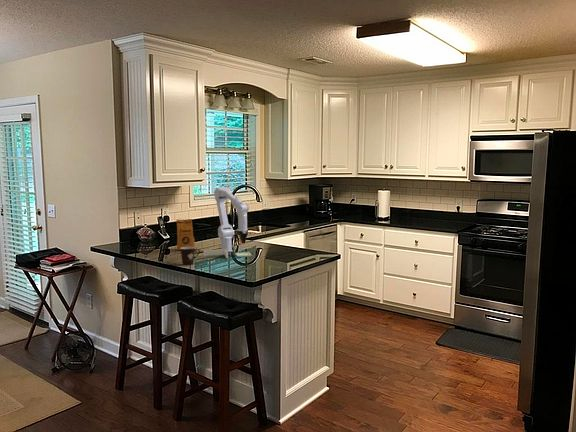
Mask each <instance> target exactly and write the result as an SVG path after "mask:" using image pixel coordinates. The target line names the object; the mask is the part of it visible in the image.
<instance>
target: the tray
mask: <svg viewBox="0 0 576 432" xmlns="http://www.w3.org/2000/svg"><path fill="white" fill-rule="evenodd" d="M235 256H236V257H237V258H240V257H241V258H242V257H252V254H251V253H250V251H248V252H235Z"/></svg>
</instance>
